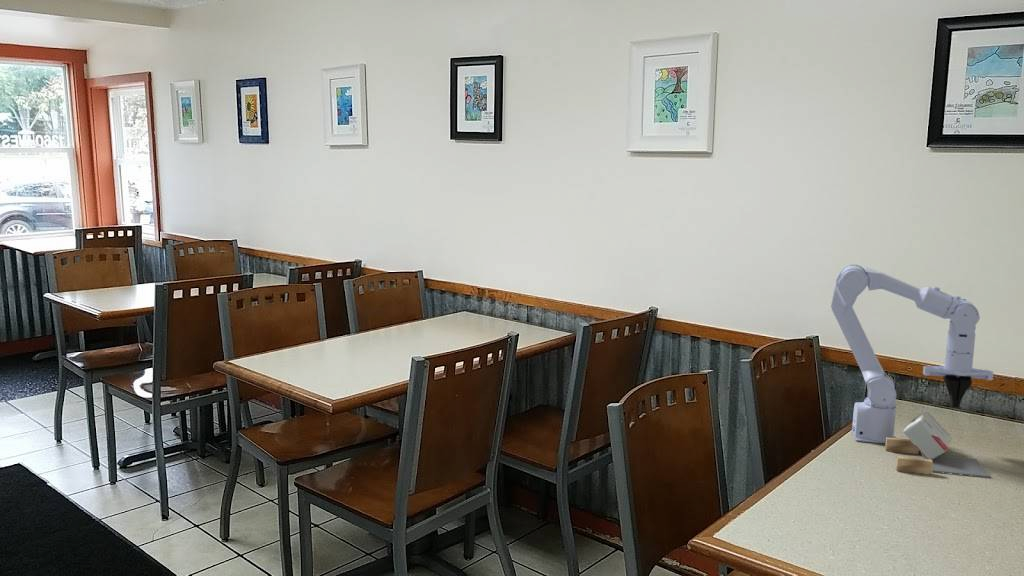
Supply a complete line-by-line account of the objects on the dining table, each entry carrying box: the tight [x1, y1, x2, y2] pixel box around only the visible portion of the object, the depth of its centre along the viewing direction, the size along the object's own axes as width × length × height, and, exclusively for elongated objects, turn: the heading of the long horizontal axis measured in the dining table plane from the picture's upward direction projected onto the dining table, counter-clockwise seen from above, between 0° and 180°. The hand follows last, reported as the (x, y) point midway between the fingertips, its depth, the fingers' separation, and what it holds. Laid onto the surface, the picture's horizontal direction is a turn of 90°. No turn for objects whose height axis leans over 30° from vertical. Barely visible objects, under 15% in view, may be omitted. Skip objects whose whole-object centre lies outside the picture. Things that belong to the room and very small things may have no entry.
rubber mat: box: [920, 452, 992, 479], centre depth 177 cm, size 12×11×1 cm
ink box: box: [902, 409, 952, 460], centre depth 183 cm, size 9×5×12 cm
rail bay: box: [884, 437, 933, 475], centre depth 179 cm, size 7×14×3 cm, turn 164°
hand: (954, 406), depth 187 cm, fingers closed
